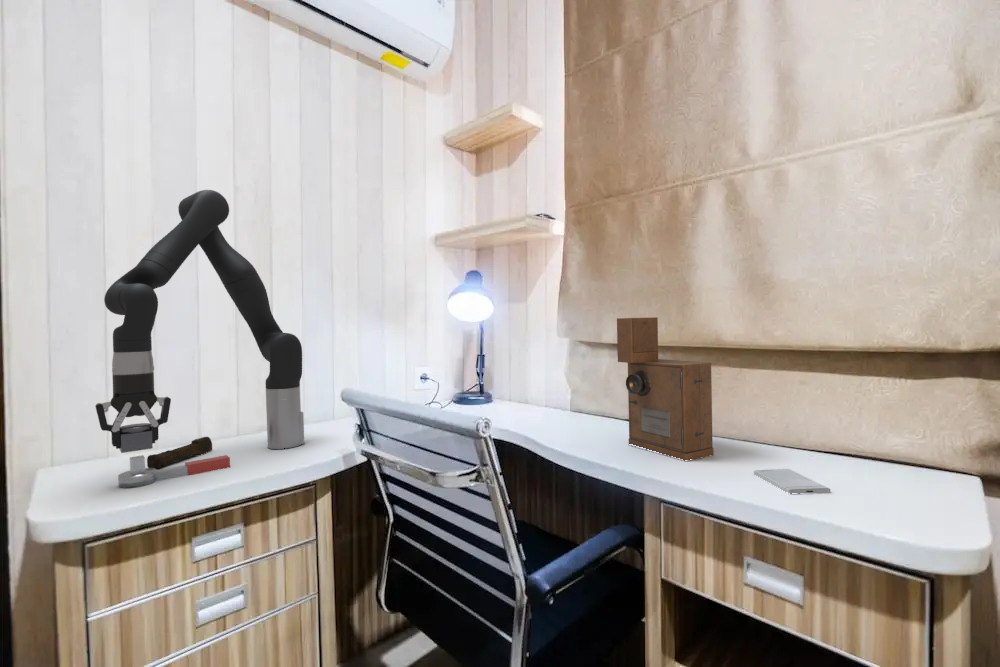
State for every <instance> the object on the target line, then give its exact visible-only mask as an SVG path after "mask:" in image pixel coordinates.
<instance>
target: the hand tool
mask: <svg viewBox="0 0 1000 667" xmlns="http://www.w3.org/2000/svg"><path fill="white" fill-rule="evenodd" d="M210 450H211V451H212V450H213V442H212V440H211V437H209V436H203V437H200V438H195V439H193V440H191V443H189V444H186V445H183V446H180V447H177V448H174V449H168V450H166V451H162V452H159V453H157V454H156V453H155V454H149V455H148V456H147V458H146V463H147V464H146V465H147V468H155V469H156V470H160V469H161V468H163V467H166V465H170V464H172V463H175V462H178V461H180V460H185V459H186V458H189V457H195V456H194V455H200V456H202V455H201V454H203V455H205V454H207V453H209V452H211V451H210ZM208 451H209V452H208ZM206 452H207V453H206ZM204 453H205V454H204Z"/></svg>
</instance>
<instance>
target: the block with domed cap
mask: <svg viewBox="0 0 1000 667" xmlns="http://www.w3.org/2000/svg"><path fill="white" fill-rule="evenodd" d="M119 432H120V448H119V449H118V450H119V451H120V453H121V454H123V453H130V452H131V453H132V452H137V451H144V450H151V449H153V448H154V447H153V444H152V430H151V424H150V422H149V423H145V422H142V423H141V422H140V423H132V424H126V425H121V426H120V428H119Z"/></svg>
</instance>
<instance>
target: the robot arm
mask: <svg viewBox="0 0 1000 667" xmlns="http://www.w3.org/2000/svg"><path fill="white" fill-rule="evenodd" d="M177 208H178V215H179V216H180V219H181V221H180V222H179V223H177V225H176V226H175V227H173V229H171V230H170V231H169V232H167V234H166V235H165V236H163V237H162V238H161V239H160V240H158V241H157V242H156V243H155V244H154V245H152V247H151V248H150V249H149V250H148V251H147V252H146V253H145V255H143V257H142V258H141V259H140V260H139V262H138V263H137V264H136V265H135V266H134V267H133V268H132V269H130V270H128V271H127V272H126V273H125V274H123V275H122V276H120V277H119V278H118V279H117V280H116V281H114V282H113V283H112V284H111V285H110V286H109V287H108V289H107V290H106V292H105V294H104V302H103V303H104V305H105V307H106V309H107V310H108V311H109V312H111V313H112V314H116V315H119V316H124V318H123V323H122V324H121V325H119V326H117V327H115V328H114V330H113V332H112V350H113V353H112V361H111V369H112V370H111V372H112V373H111V374H112V398H111V399H110V401H107V402H98V403H96V404H95V405H94V406H95V407H94V408H95V410H96V414H97V419H98V422H99V426H100V430H102V431H103V432H106V431H107V432H110V433H111V444H112V447H115V449H118V450H120V449H119V448H120V432H119V428H120V427H121V426H122V424H123V423H124V421H125V419H126V418H132V417H135V416H136V417H143V416H144V417H146V419H147V421H148V422H149V423H150V424H151V430H152V445H153V444H156V441H158V440H159V427H160V426H161V425H162V424H166V423H167V422H168V420H169V413H170V408H171V402H172V401H171V399H172V398H170V397H168V396H165V397H164V396H163V397H159V396H157V394H155V375H154V374H155V372H154V371H155V365H154V357H153V348H152V345H153V344H152V331H153V328H154V326H155V323H156V322H155V321H156V317H157V312H158V308H159V299H158V296H157V294H156V293H157V292H156V291H155V289H158V288H161V287H163V286H165V285H166V284H167V283H169V281H170V280H171V279H172V278H173V276H174V275H175V274H176V273H177V271H178V270H179V269H180V267H182V264H184V262H185V261H186V260H187V259H188V258H189V257H190V255H191V254H192V252H193V251H194V250H196V248H197V247H198V246H199V247H200V248H201V249H202V251H203V253H205V256H206V257H207V259H208V261H209V262H210V264H211V266H212V267H213V269H214V271H215V272H216V274H217V275H218V278H219V279H220V281H221V283H222V285H223V287H224V289H225V290H226V292H227V294H228V295H229V298H231V300H232V302H233V303H234V305H235V306H236V308H237V310H238V312H239V314H240V315H241V316H242V318H243V320H244V322H246V324H247V326H248V327H249V329H250V332H251V333H252V336H253V338H254V339H255V343H256V345H257V347H258V349H259V350H258V351H260V354H261V355H262V357H263V358H264V359H265V361H268V362H269V374H268V375H267V378H266V379H265V407H266V408H265V409H266V431H267V433H266V434H267V435H266V436H267V437H266V438H267V439H266V442H267V448H268V449H272V450H282V449H283V450H285V449H290V448H296V447H298V446H301V444H302V445H304V444H305V426H304V425H305V422H304V421H305V420H304V412H303V411H301V409H302V407H301V378H302V377H303V376H302V375H303V346H302V343H301V341H300V339H299V338H298V336H296V335H295V334H293V333H291V332H289V333H288V332H283V330H282V329H281V327H280V326H279V324H278V323H277V321H276V320H275V318H274V316H273V313H272V310H271V307H270V306H271V305H270V301H269V296H268V292H267V289H266V286H265V284H264V282H263V280H262V277H261V276H260V275H259V273H258V271H257V269H256V268H255V267H254V265H253V264H252V263H251V262H250V261H249V260H248V259H247V258H246V257H245V256H243V255H242V254H241V253H239V251H237V250H236V249H235V248H233V246H231V245H230V244H229V243H228V241H227V240H226V238H225V237H224V235H223V233H222V232H221V230H220V228H219V226H220V225H221V224H223V223H224V222H226V220H227V219H228V217H229V214H230V205H229V203H228V201H227V198H225V196H224V195H223V194H221V193H220V192H218V191H216V190H213V189H212V190H211V189H203V190H199V191H196V192H195V193H192V194H191V195H189V196H186V197H184V198H183V199H182V200H180V202H179V205H178V206H177ZM156 403H158V405H159V406H160V407H161V411H160V415H159V418H157V419H156V417H155V415H154V414H153V412H152V411H151V409H152V408H153V407H154V406H155V404H156ZM110 407H112V408H114V410H115V411H117V414H116V416H115V419H114V420H113V423H112V424H109V423H108V421H107V416H106V413H108V412H109V408H110ZM284 448H285V449H284Z"/></svg>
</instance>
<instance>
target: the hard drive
mask: <svg viewBox="0 0 1000 667" xmlns="http://www.w3.org/2000/svg"><path fill="white" fill-rule="evenodd" d="M753 475H754V476H755V475H756V476H755V477H757V476H758V477H757V478H759V477H760V478H762V479H763V480H762V479H761V480H762V481H764V480H765V481H764V482H766V481H767V482H766V483H768V482H769V483H771V484H772V486H773V485H774V486H773V487H775V486H776V487H775V488H777V487H778V488H780V489H781V491H782V490H783V491H782V492H784V491H785V492H784V493H786V492H788V493H790V495H793V494H792V493H817V494H830V493H831V488H829V487H827V486H825V485H823V484H821V483H819V482H817V481H815V480H813V479H810V478H808V477H806V476H804V475H803V474H800V473H798V472H796V471H794V470H792V469H790V468H780V469H779V468H777V469H776V468H775V469H757V470H754V471H753ZM760 478H759V479H760ZM769 483H768V484H769ZM771 484H770V485H771ZM778 488H777V489H778ZM780 489H779V490H780Z"/></svg>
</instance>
